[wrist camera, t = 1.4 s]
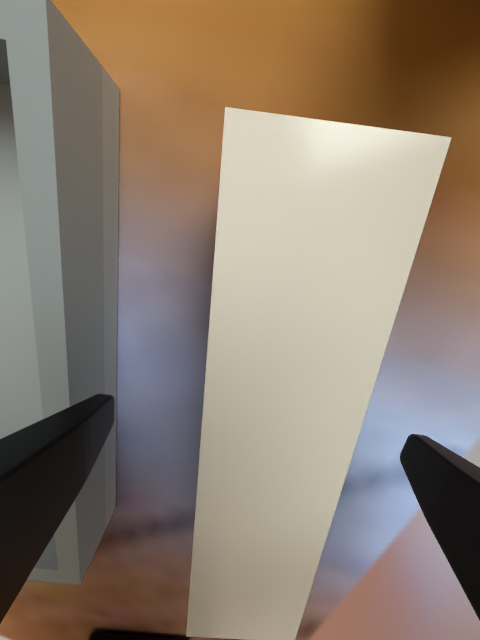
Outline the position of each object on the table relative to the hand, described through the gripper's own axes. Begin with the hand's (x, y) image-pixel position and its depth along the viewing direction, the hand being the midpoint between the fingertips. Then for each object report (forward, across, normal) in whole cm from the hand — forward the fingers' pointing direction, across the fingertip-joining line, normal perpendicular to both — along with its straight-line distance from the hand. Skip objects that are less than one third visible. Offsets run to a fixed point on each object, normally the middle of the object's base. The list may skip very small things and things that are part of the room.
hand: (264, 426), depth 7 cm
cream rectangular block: (+3, 0, 0) cm, 3 cm away
